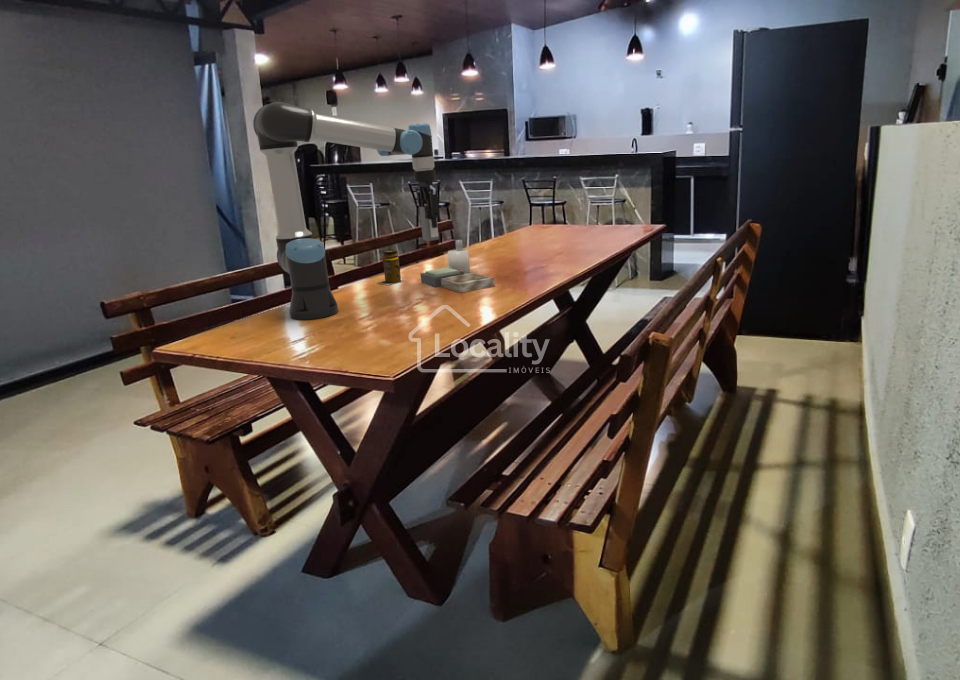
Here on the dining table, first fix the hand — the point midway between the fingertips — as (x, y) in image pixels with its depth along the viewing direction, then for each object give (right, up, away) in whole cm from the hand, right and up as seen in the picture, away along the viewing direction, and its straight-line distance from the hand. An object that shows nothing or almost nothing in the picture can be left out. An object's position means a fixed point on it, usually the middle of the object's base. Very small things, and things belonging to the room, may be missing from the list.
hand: (431, 236), depth 241 cm
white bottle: (+10, -12, +21) cm, 25 cm away
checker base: (+4, -16, +7) cm, 18 cm away
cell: (0, -1, 0) cm, 1 cm away
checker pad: (+3, -13, +7) cm, 15 cm away
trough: (+13, -18, -3) cm, 23 cm away
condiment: (-16, -16, +15) cm, 27 cm away
